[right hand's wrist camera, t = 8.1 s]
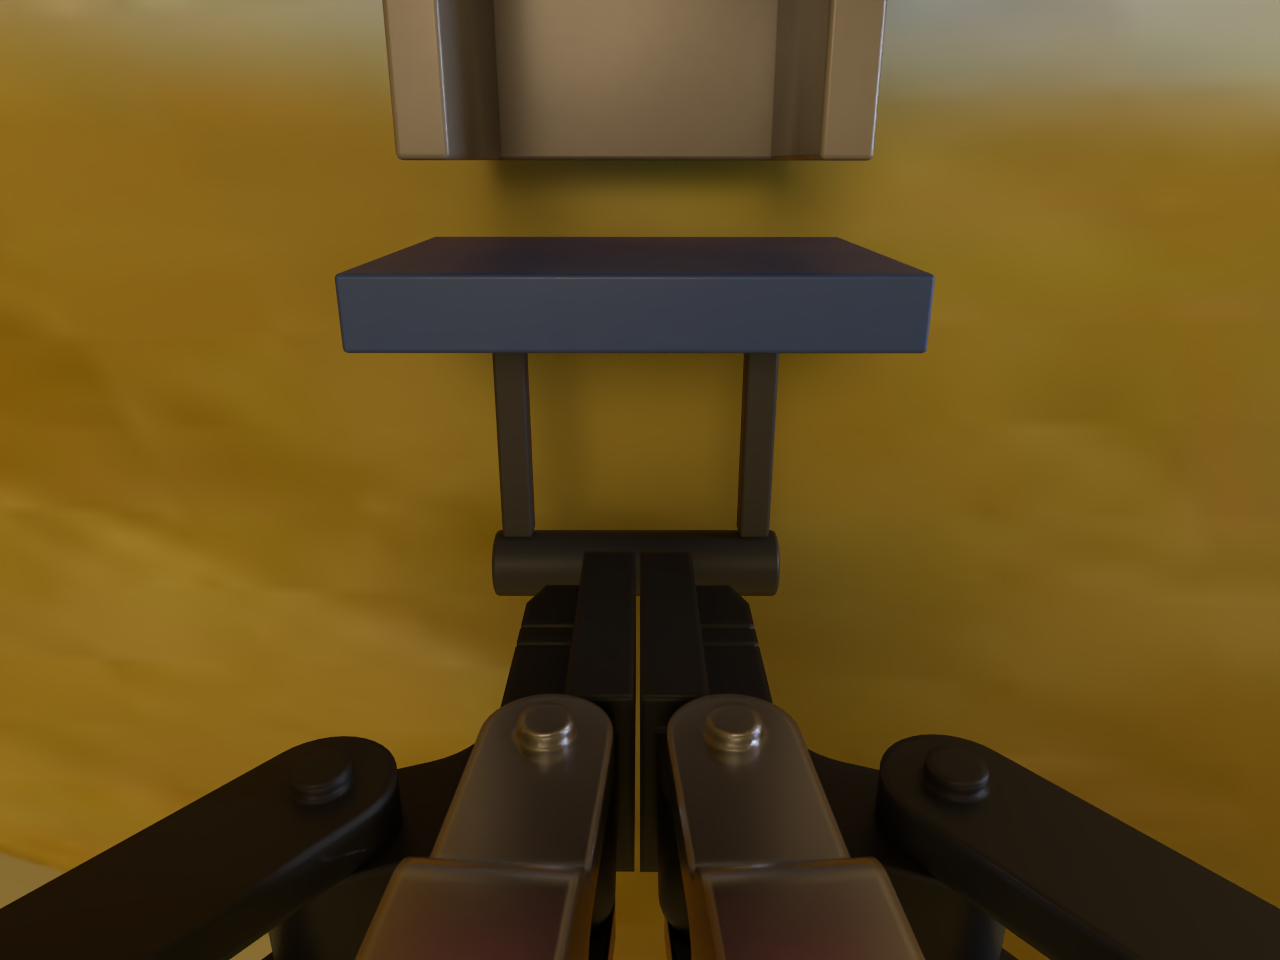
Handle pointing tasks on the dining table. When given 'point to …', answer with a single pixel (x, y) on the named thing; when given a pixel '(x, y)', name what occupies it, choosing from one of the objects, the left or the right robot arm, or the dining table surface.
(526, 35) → the drawer
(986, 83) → the dining table surface
